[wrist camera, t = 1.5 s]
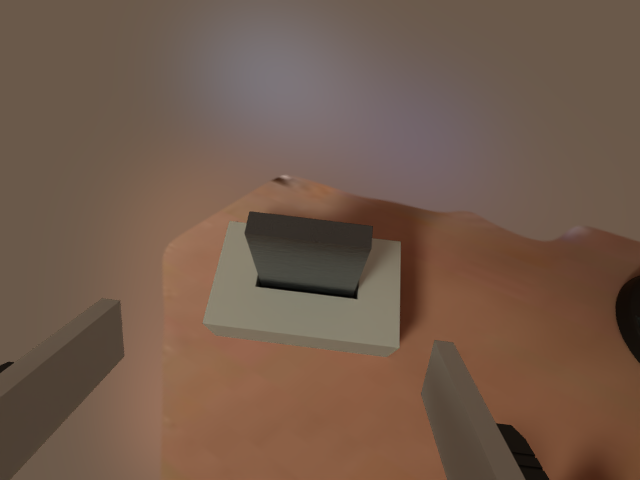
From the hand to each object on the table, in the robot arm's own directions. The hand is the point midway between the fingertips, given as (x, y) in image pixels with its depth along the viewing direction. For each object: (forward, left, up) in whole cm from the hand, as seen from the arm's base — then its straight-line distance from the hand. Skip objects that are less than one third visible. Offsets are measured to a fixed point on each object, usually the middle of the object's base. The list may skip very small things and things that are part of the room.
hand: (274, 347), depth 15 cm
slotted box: (+5, -9, -27) cm, 29 cm away
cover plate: (+5, -9, -25) cm, 28 cm away
